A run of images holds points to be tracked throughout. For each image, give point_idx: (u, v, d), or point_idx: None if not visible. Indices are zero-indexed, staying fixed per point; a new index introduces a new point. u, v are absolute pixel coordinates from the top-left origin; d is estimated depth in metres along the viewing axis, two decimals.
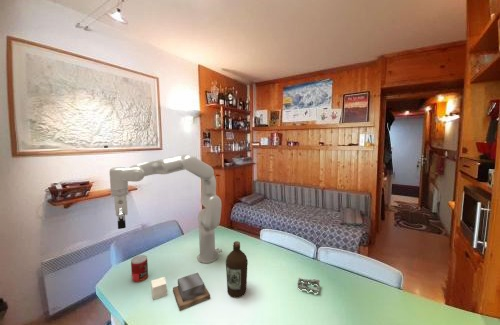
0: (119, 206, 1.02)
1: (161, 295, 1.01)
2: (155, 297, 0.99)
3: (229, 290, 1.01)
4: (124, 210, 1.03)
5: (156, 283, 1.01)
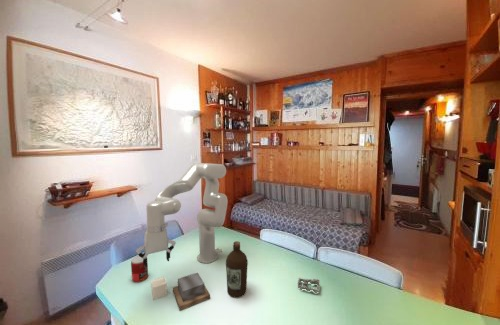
0: (167, 238, 1.02)
1: (161, 295, 1.01)
2: (155, 297, 0.99)
3: (229, 290, 1.01)
4: None
5: (156, 283, 1.01)
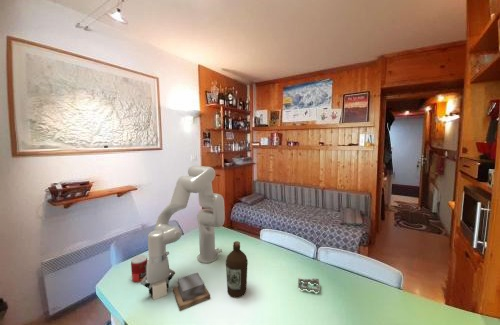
0: None
1: (161, 295, 1.01)
2: (155, 297, 0.99)
3: (229, 290, 1.01)
4: None
5: (156, 283, 1.01)
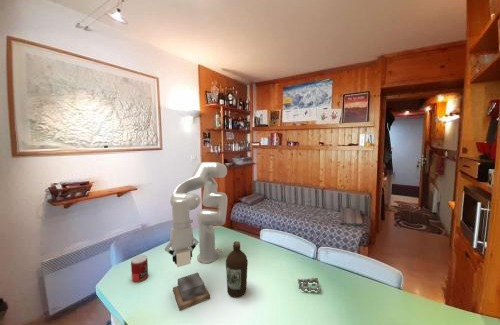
0: None
1: (185, 263, 0.98)
2: (179, 264, 0.97)
3: (229, 290, 1.01)
4: None
5: (179, 251, 0.99)
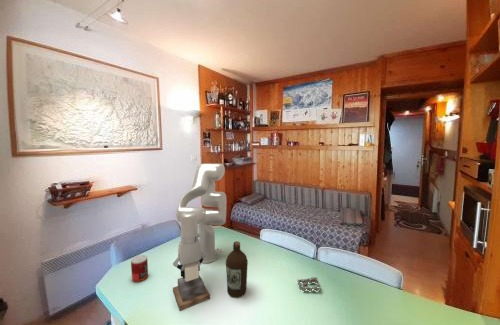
0: None
1: (193, 277, 0.98)
2: (187, 279, 0.97)
3: (229, 290, 1.01)
4: None
5: (187, 265, 0.99)
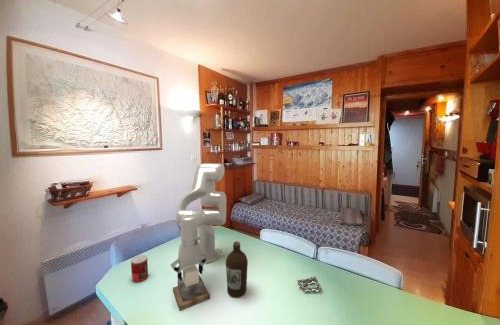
0: None
1: (193, 282, 0.99)
2: (188, 284, 0.98)
3: (229, 290, 1.01)
4: None
5: (188, 271, 0.99)
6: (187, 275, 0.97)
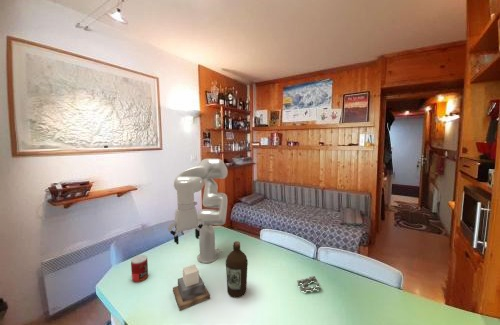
0: None
1: (193, 282, 0.99)
2: (188, 284, 0.98)
3: (229, 290, 1.01)
4: None
5: (188, 271, 0.99)
6: (187, 275, 0.97)
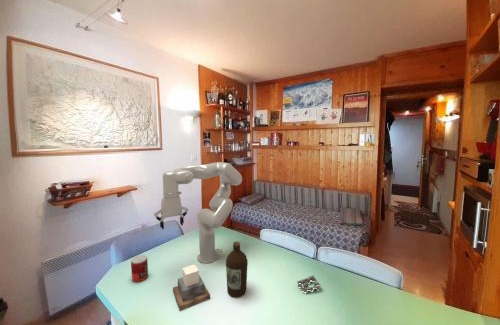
0: (181, 205, 1.14)
1: (193, 282, 0.99)
2: (188, 284, 0.98)
3: (229, 290, 1.01)
4: None
5: (188, 271, 0.99)
6: (187, 275, 0.97)
